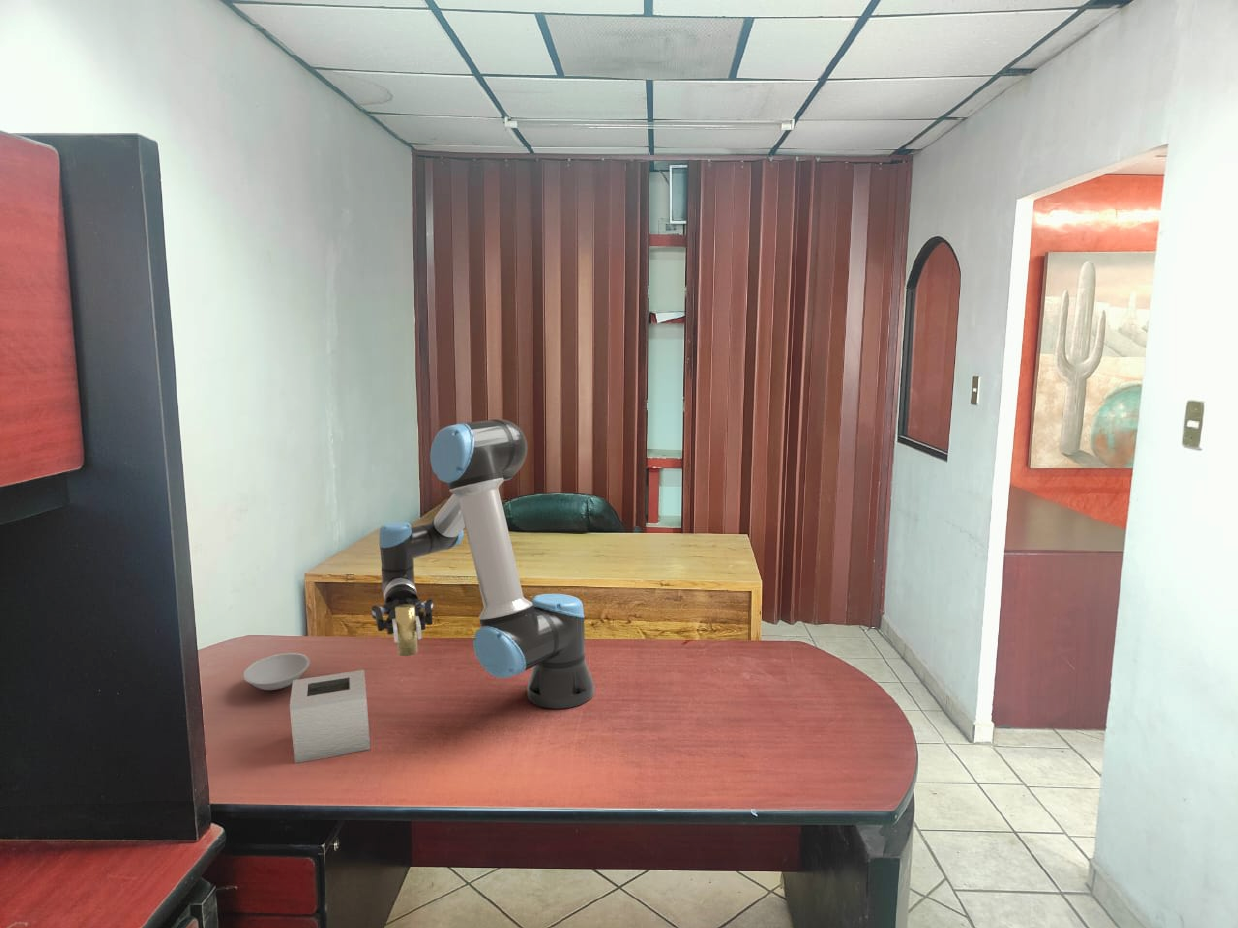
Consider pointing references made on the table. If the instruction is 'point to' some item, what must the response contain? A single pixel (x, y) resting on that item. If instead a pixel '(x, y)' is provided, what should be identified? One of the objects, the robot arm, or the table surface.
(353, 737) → the grey tissue box
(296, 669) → the dish
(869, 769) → the table surface
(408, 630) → the coin roll
